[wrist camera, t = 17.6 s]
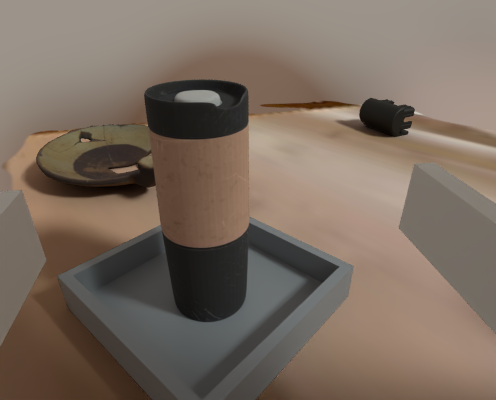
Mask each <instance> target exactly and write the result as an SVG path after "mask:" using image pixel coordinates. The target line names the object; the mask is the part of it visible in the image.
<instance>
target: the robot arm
mask: <svg viewBox="0 0 496 400" xmlns="http://www.w3.org/2000/svg"><path fill="white" fill-rule="evenodd" d="M399 229H400V230H401V231H402V232H403V233H404V234H405V236H406V237H407V238H408V239H409V240H410V241H411V242H412V243H413V244H414V245H415V246H416V248H417V249H418V250H419V251H420V252H421V253H422V254H423V255H424V256H425V257H426V258H427V260H428V261H429V262H430V263H431V264H432V265H433V266H434V267H435V268H436V269H437V270H438V271H439V273H440V274H441V275H442V276H443V277H444V278H445V279H446V280H447V281H448V282H449V283H450V285H451V286H452V287H453V288H454V289H455V290H456V291H457V292H458V293H459V294H460V295H461V297H462V298H463V299H464V300H465V301H466V302H467V303H468V304H469V305H470V306H471V307H472V308H473V310H474V311H475V312H476V313H477V314H478V315H479V316H480V317H481V318H482V319H483V320H484V322H485V323H486V324H487V325H488V326H489V327H490V328H491V329H492V330H493V331H494V332H495V334H496V204H495V203H494V202H492V201H491V200H489V199H488V198H486V197H485V196H483V195H482V194H480V193H479V192H477V191H476V190H474V189H473V188H471V187H470V186H468V185H467V184H465V183H464V182H462V181H461V180H459V179H458V178H456V177H455V176H453V175H452V174H450V173H449V172H447V171H446V170H444V169H443V168H441V167H440V166H438V165H437V164H435V163H422V164H414V168H413V172H412V176H411V180H410V184H409V188H408V192H407V196H406V200H405V205H404V209H403V213H402V217H401V221H400V225H399ZM45 262H46V257H45V254H44V251H43V248H42V245H41V243H40V240H39V237H38V234H37V231H36V228H35V226H34V223H33V220H32V217H31V214H30V211H29V209H28V206H27V203H26V200H25V197H24V194H23V192H22V190H16V191H1V192H0V346H1V345H2V343H3V341H4V339H5V337H6V335H7V333H8V331H9V330H10V328H11V326H12V324H13V322H14V320H15V318H16V316H17V315H18V313H19V311H20V309H21V307H22V305H23V303H24V301H25V300H26V298H27V296H28V294H29V292H30V290H31V288H32V286H33V285H34V283H35V281H36V279H37V277H38V275H39V273H40V271H41V270H42V268H43V266H44V264H45Z"/></svg>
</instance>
